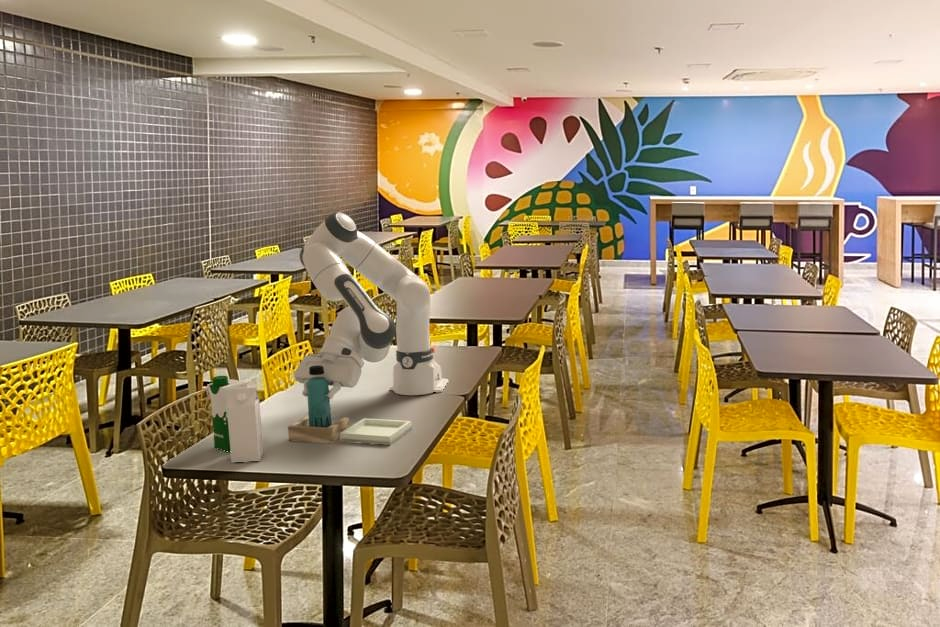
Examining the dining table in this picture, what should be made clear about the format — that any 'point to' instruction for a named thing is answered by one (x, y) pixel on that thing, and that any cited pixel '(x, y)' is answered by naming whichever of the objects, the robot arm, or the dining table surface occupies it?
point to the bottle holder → (316, 431)
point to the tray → (376, 431)
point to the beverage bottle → (318, 399)
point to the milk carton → (244, 425)
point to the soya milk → (221, 408)
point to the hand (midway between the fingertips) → (316, 396)
